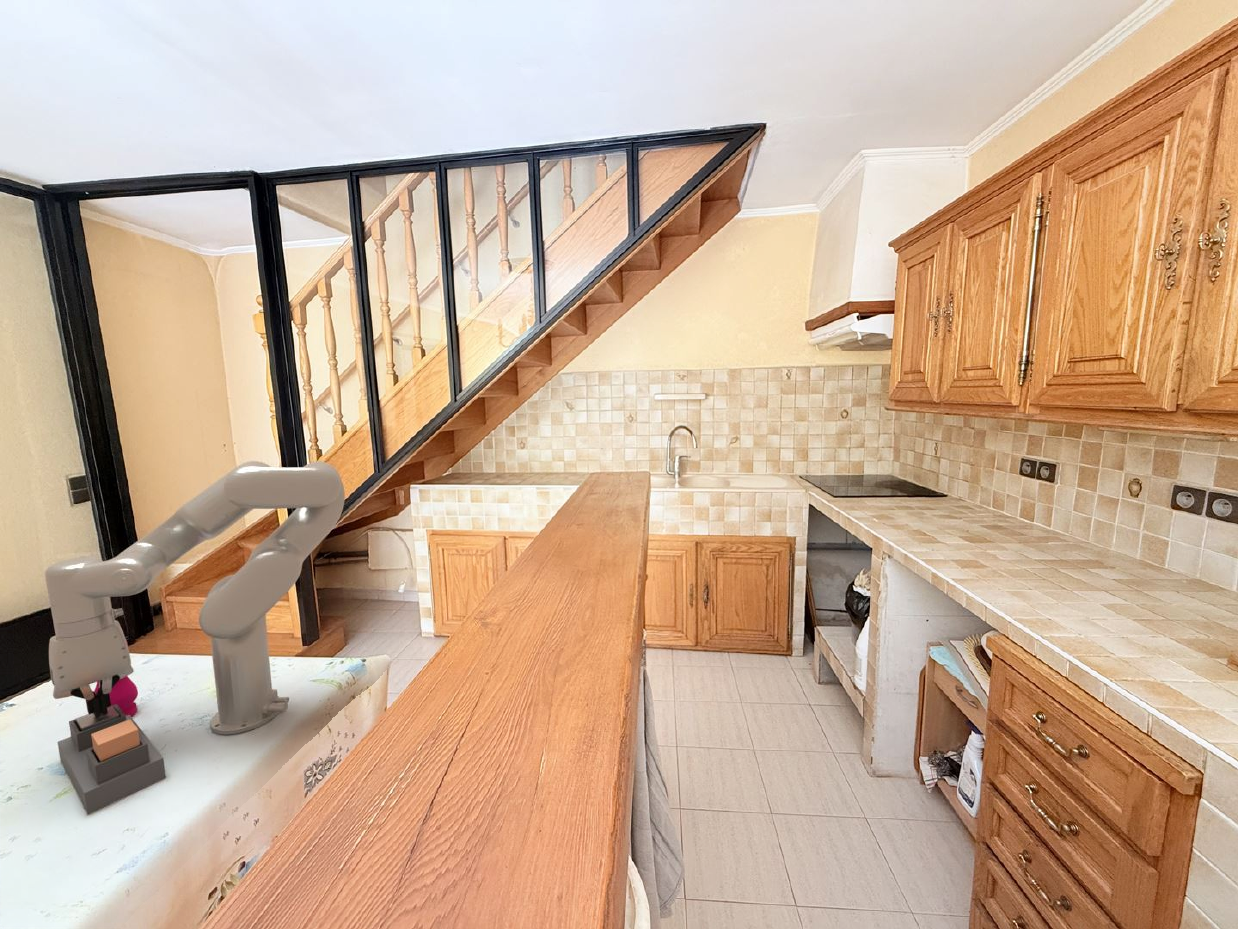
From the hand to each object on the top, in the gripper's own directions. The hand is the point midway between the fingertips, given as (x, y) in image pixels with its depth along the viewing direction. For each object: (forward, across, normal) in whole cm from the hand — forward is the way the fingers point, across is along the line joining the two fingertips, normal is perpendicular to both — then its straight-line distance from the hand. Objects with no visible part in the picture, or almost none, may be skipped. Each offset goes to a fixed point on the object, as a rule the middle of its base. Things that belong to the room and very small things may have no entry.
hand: (100, 713), depth 96 cm
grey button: (+3, 0, 0) cm, 4 cm away
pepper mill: (+9, -4, -14) cm, 17 cm away
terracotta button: (+1, 0, +14) cm, 14 cm away
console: (+8, +1, +7) cm, 11 cm away
